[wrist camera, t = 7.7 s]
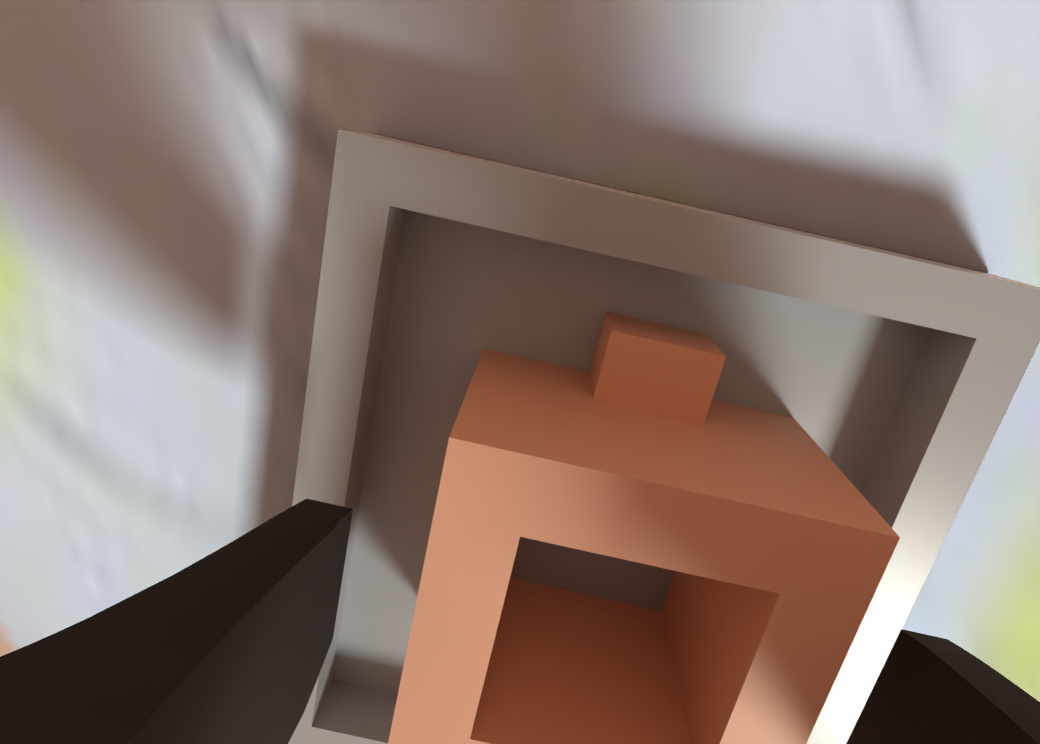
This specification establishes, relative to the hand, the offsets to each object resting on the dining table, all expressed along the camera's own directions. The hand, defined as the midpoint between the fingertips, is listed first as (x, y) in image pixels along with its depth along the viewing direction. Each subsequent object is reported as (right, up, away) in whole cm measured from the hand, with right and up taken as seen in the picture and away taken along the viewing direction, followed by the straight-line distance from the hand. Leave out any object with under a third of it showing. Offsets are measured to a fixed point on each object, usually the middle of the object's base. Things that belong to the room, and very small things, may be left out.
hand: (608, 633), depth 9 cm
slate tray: (0, +1, +3) cm, 3 cm away
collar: (0, +1, +3) cm, 3 cm away
